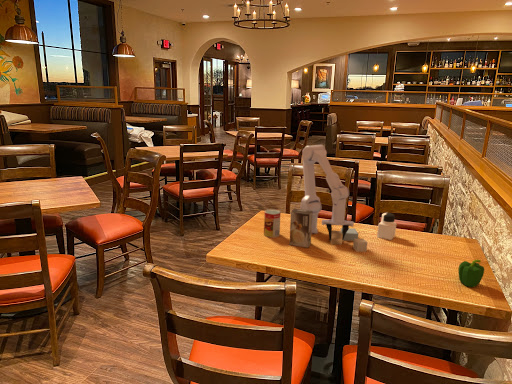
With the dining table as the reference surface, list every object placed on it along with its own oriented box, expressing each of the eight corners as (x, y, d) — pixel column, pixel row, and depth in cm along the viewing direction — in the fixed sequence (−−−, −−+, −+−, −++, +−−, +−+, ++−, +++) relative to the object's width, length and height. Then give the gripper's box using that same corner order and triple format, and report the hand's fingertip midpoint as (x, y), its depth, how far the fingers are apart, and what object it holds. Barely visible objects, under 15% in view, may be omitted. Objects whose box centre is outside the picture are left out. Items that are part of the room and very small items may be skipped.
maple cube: (331, 244, 175) (331, 234, 174) (330, 240, 180) (330, 230, 179) (341, 244, 175) (342, 234, 173) (340, 240, 179) (341, 230, 178)
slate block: (342, 240, 180) (343, 233, 179) (340, 235, 187) (340, 228, 186) (357, 241, 180) (358, 233, 179) (354, 236, 187) (355, 228, 186)
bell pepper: (457, 286, 138) (462, 262, 135) (455, 277, 145) (459, 253, 143) (483, 291, 135) (488, 266, 133) (479, 281, 143) (484, 257, 140)
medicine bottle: (394, 236, 188) (397, 213, 185) (391, 240, 182) (394, 217, 179) (380, 233, 191) (383, 210, 188) (376, 237, 185) (379, 214, 182)
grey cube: (357, 251, 167) (357, 242, 166) (352, 248, 171) (353, 238, 170) (366, 251, 168) (367, 242, 167) (362, 247, 172) (363, 238, 171)
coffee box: (311, 243, 175) (313, 210, 171) (308, 248, 170) (310, 214, 166) (292, 240, 179) (294, 208, 175) (288, 244, 173) (290, 211, 169)
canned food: (269, 230, 190) (270, 208, 187) (282, 234, 186) (283, 211, 183) (260, 234, 184) (261, 211, 181) (273, 238, 180) (274, 215, 177)
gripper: (323, 213, 170) (321, 241, 174) (355, 215, 169) (352, 243, 172) (322, 209, 177) (320, 236, 181) (353, 211, 176) (350, 238, 179)
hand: (336, 239), depth 177 cm, fingers closed on maple cube, 5 cm apart
